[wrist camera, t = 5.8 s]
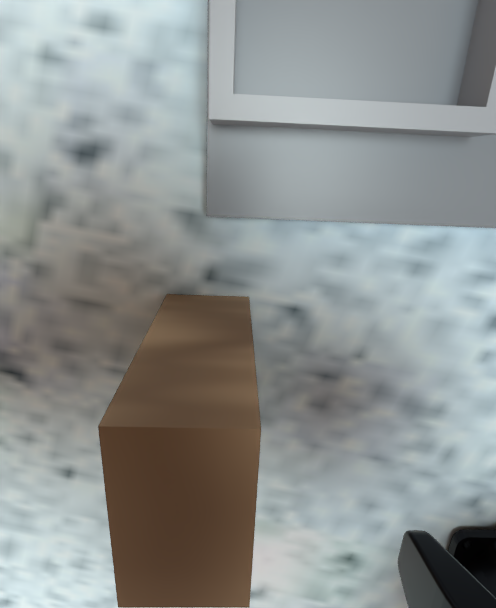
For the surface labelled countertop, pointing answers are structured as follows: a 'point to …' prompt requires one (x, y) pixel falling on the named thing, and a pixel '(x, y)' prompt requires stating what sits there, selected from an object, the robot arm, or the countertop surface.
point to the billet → (185, 458)
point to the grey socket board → (352, 111)
